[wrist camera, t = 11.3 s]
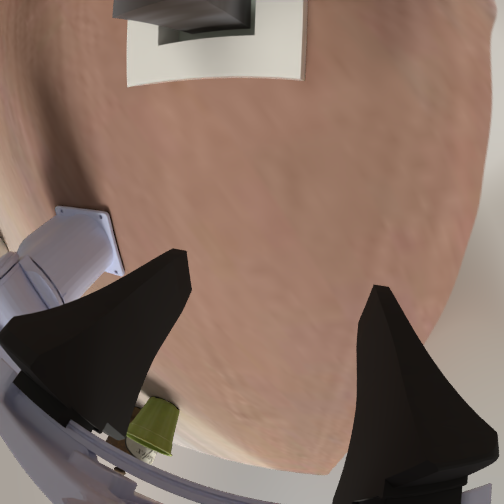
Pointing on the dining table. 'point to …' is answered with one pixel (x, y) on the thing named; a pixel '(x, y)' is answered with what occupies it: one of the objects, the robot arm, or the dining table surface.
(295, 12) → the socket block
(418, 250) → the dining table surface
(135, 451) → the wooden container
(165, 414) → the plant pot
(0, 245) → the lidded jar
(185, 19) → the peg
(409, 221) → the dining table surface
